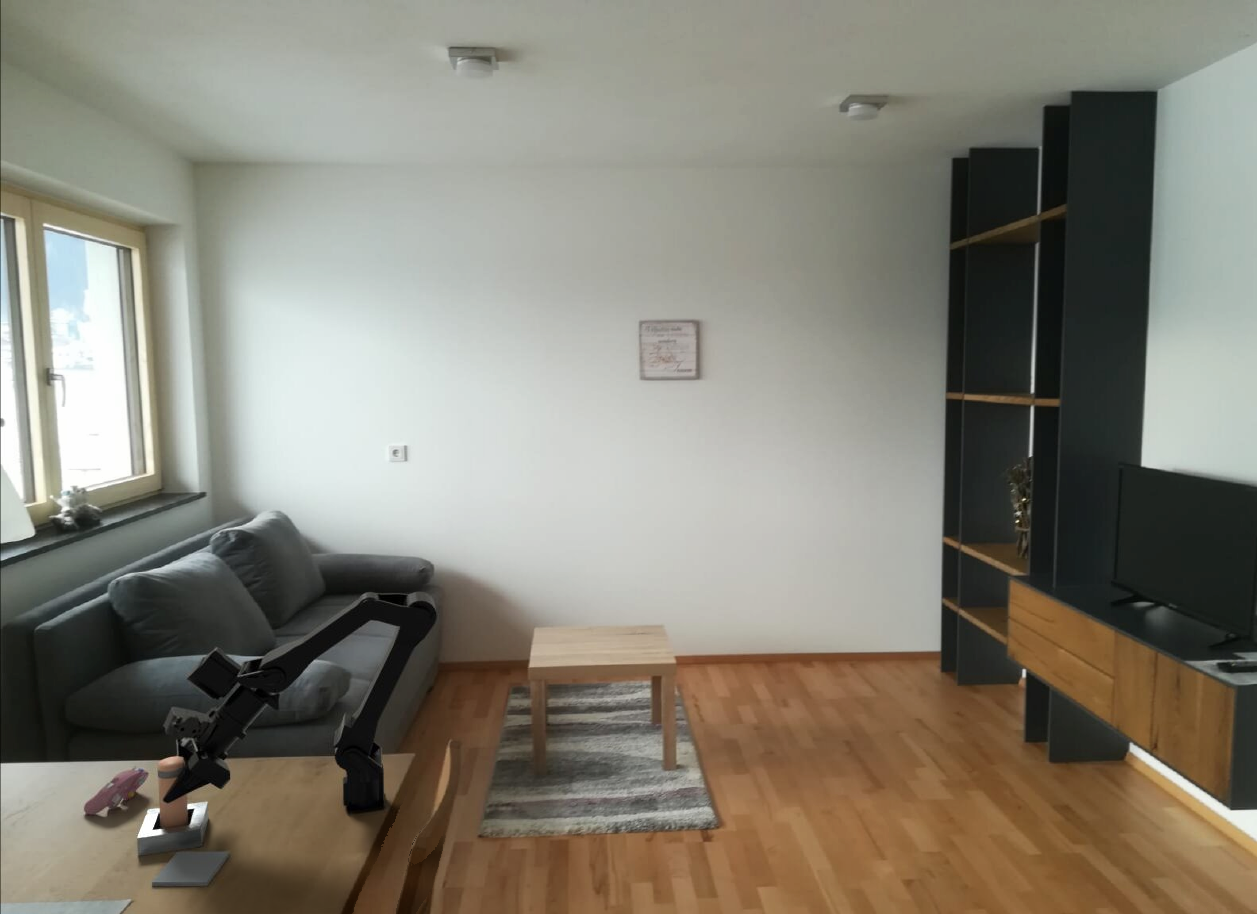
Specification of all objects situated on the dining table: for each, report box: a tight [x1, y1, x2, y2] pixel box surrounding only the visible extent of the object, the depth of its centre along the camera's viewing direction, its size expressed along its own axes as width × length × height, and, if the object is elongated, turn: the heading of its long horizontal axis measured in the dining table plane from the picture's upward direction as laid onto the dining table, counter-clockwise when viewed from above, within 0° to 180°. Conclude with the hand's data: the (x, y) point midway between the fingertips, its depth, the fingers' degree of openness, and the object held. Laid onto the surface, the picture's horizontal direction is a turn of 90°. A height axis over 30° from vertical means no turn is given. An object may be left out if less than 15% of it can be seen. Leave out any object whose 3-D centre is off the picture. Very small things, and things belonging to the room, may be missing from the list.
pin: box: [157, 755, 188, 829], centre depth 140 cm, size 4×4×12 cm
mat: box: [151, 851, 230, 887], centre depth 132 cm, size 8×8×1 cm
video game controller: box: [83, 766, 149, 816], centre depth 151 cm, size 10×5×7 cm, turn 169°
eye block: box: [136, 801, 209, 857], centre depth 141 cm, size 9×9×3 cm
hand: (163, 795), depth 139 cm, fingers closed on pin, 4 cm apart
